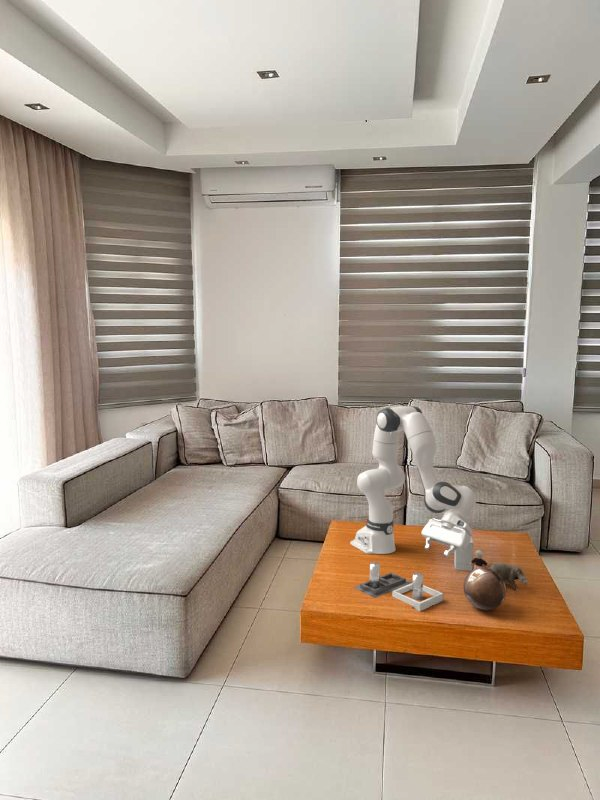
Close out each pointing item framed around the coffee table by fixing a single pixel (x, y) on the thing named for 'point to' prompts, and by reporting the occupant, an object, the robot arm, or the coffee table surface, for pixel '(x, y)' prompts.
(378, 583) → the seated billet
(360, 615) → the coffee table surface
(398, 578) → the tray
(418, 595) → the ball
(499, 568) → the rhinoceros figurine
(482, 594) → the brown metallic sphere
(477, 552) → the grandmother figurine
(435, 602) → the white square frame
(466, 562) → the supplement box
